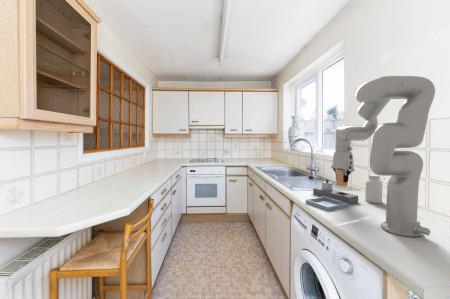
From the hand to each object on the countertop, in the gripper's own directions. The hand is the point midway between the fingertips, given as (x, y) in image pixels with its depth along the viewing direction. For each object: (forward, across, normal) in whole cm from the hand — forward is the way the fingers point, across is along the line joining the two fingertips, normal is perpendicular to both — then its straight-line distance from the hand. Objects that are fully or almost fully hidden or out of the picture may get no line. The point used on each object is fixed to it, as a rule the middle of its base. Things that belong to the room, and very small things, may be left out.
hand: (341, 180), depth 124 cm
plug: (+2, 0, 0) cm, 2 cm away
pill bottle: (+12, -8, -16) cm, 22 cm away
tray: (+12, -2, +15) cm, 19 cm away
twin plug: (+12, +10, 0) cm, 15 cm away
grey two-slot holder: (+12, +5, 0) cm, 13 cm away
